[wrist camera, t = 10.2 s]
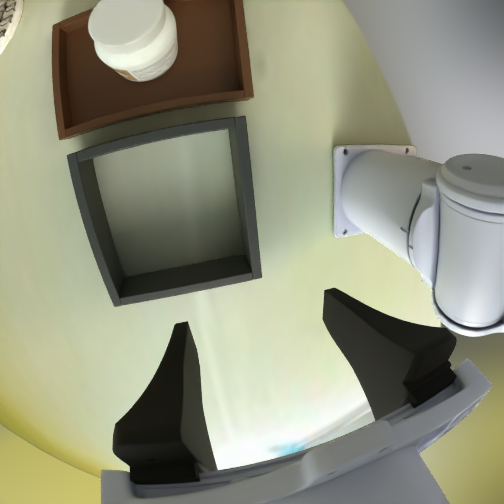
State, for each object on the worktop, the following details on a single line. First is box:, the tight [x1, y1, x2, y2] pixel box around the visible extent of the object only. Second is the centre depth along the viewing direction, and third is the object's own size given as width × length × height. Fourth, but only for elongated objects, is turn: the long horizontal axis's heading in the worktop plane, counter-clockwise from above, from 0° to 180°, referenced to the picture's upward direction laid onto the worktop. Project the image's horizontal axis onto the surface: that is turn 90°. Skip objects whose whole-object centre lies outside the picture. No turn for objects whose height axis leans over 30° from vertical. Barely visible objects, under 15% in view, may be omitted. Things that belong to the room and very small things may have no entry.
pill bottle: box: [88, 0, 178, 82], centre depth 10 cm, size 4×4×8 cm
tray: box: [52, 0, 254, 140], centre depth 13 cm, size 13×9×2 cm
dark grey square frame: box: [67, 116, 262, 307], centre depth 18 cm, size 11×11×3 cm
